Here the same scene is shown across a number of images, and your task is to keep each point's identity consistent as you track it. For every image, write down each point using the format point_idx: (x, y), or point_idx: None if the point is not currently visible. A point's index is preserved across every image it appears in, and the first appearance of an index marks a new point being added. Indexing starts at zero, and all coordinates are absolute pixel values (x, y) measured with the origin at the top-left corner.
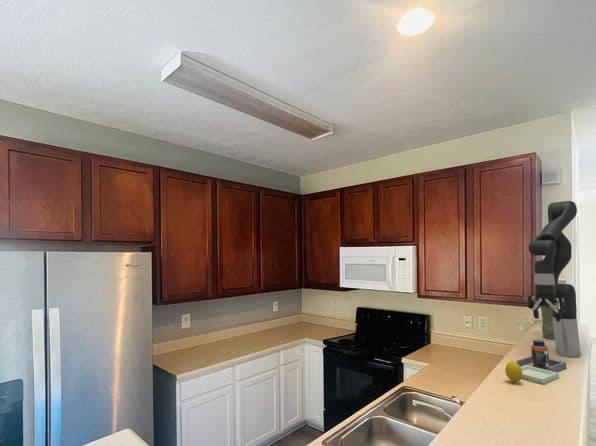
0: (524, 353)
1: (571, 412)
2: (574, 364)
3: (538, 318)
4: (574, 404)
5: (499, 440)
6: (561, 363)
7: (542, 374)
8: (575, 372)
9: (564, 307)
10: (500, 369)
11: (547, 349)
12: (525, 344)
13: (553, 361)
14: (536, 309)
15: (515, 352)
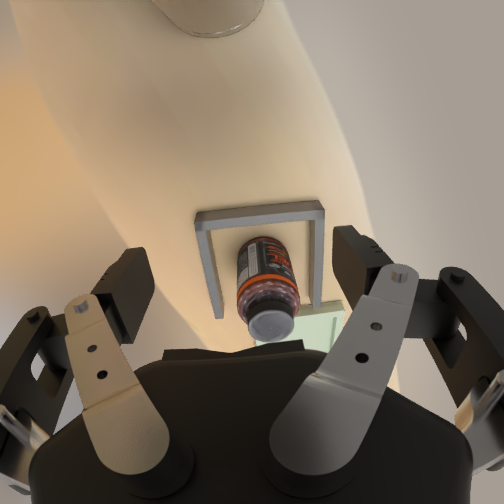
0: (106, 143)
1: (391, 388)
2: (308, 117)
3: (145, 254)
4: (392, 372)
5: None
6: (320, 234)
7: (309, 324)
8: (351, 215)
9: (481, 312)
10: (214, 350)
11: (299, 297)
12: (33, 31)
13: (283, 221)
14: (115, 335)
15: (84, 164)
